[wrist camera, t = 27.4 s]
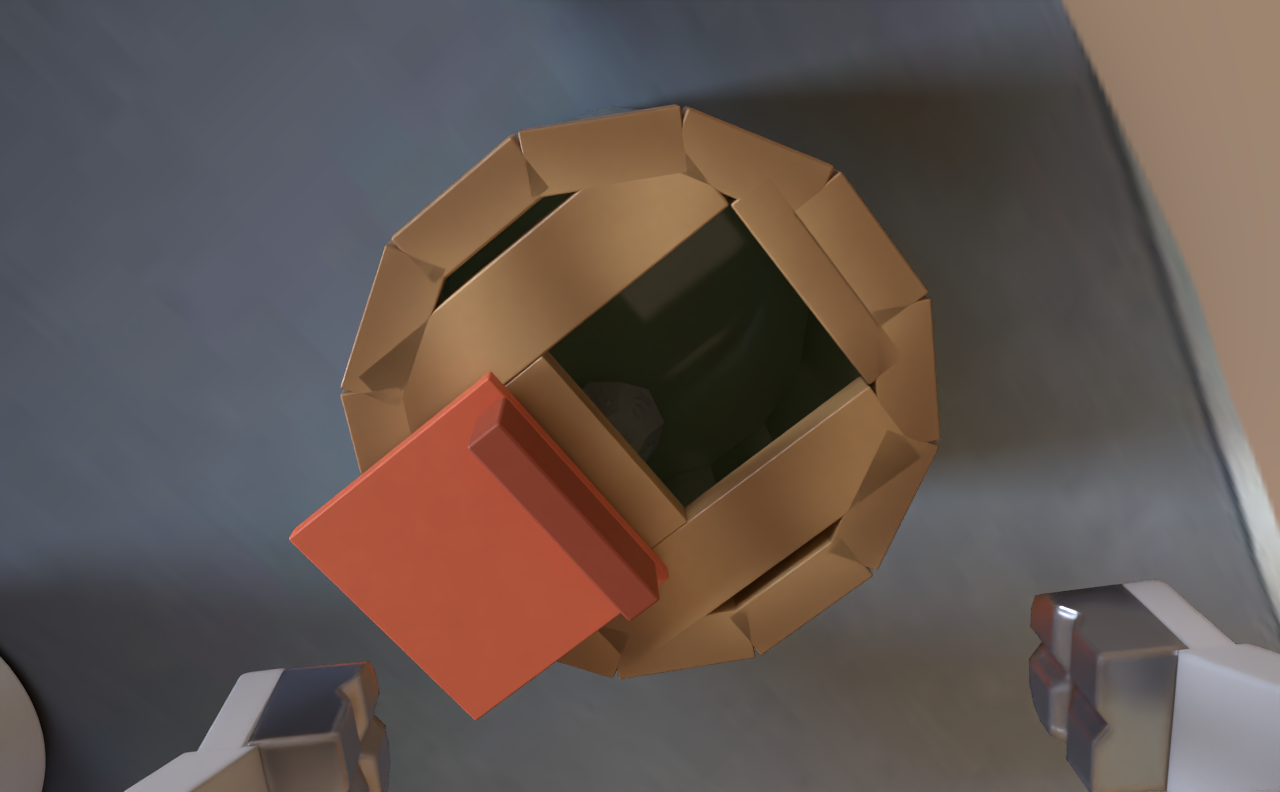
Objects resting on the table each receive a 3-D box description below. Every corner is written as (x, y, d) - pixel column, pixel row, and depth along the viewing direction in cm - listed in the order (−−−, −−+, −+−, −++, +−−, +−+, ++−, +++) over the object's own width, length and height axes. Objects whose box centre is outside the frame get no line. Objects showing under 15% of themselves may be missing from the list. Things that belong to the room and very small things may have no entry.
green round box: (601, 559, 41) (607, 728, 31) (348, 283, 38) (256, 371, 27) (897, 336, 39) (1011, 438, 29) (660, 19, 35) (692, 2, 25)
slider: (477, 709, 29) (467, 769, 27) (293, 529, 27) (263, 576, 25) (668, 567, 28) (676, 616, 26) (490, 369, 26) (481, 402, 24)
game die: (614, 371, 35) (612, 348, 38) (539, 446, 36) (543, 417, 39) (687, 439, 36) (680, 411, 39) (613, 510, 37) (611, 477, 40)
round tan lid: (605, 744, 31) (605, 766, 30) (234, 369, 27) (221, 380, 26) (1030, 440, 29) (1045, 453, 28) (695, -23, 25) (699, -26, 24)
